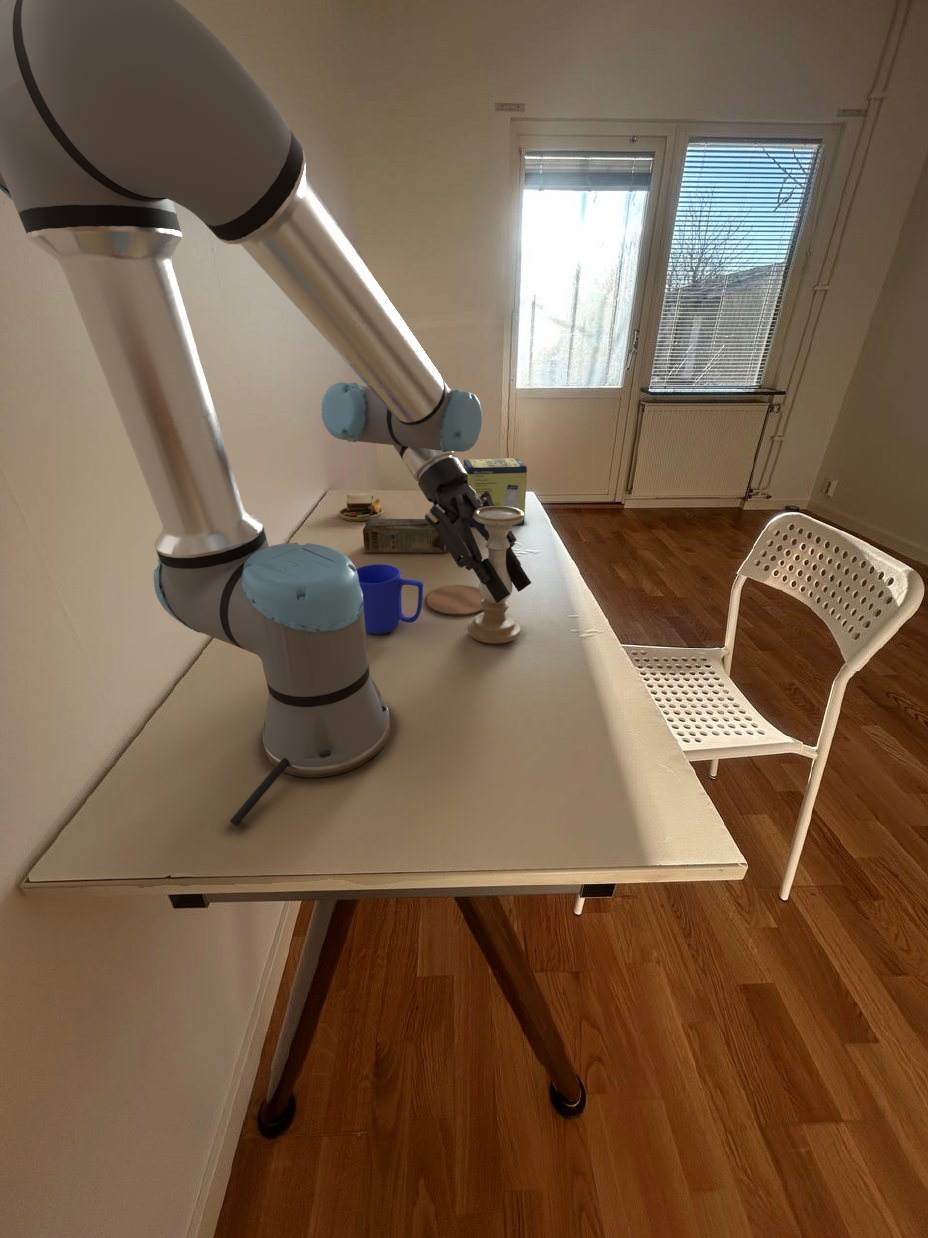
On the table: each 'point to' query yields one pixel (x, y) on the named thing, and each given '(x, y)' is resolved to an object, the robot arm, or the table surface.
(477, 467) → the protein box
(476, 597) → the coaster
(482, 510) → the candle holder
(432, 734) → the table surface
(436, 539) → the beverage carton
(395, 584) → the mug
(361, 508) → the toy sandwich meal
